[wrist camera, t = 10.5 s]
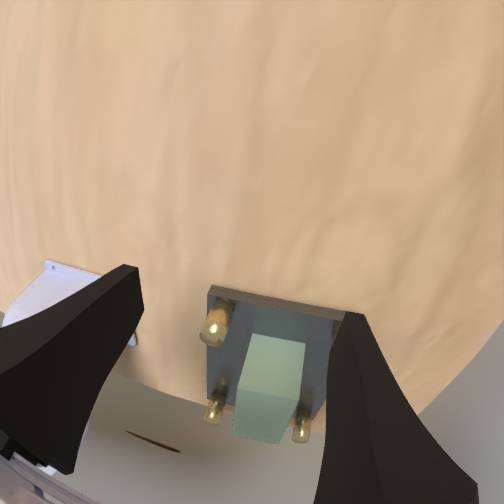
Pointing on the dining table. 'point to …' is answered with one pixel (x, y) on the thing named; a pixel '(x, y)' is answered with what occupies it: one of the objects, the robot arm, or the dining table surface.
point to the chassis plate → (272, 325)
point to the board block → (268, 388)
